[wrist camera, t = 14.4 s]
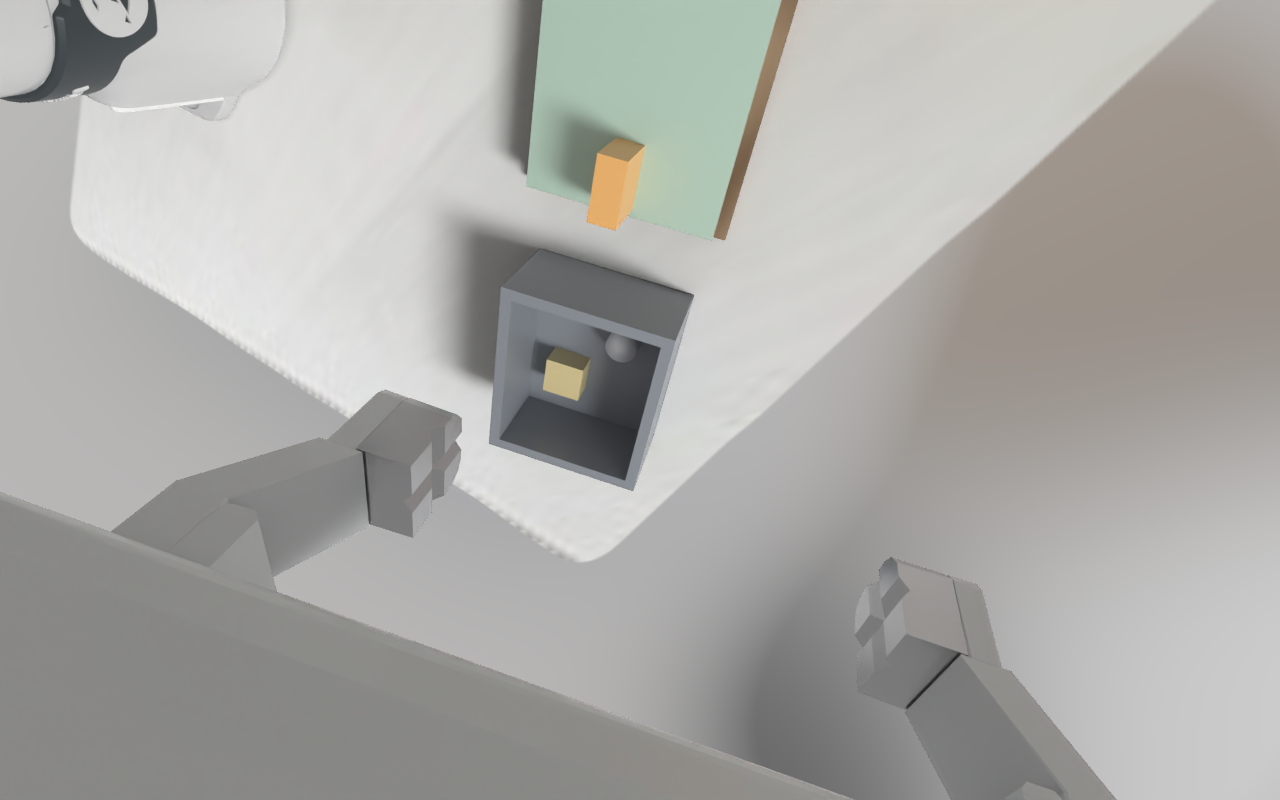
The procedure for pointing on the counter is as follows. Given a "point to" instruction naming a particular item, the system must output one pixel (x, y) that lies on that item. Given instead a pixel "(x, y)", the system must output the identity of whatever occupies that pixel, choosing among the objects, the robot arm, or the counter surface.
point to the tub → (583, 365)
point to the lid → (645, 105)
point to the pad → (756, 113)
